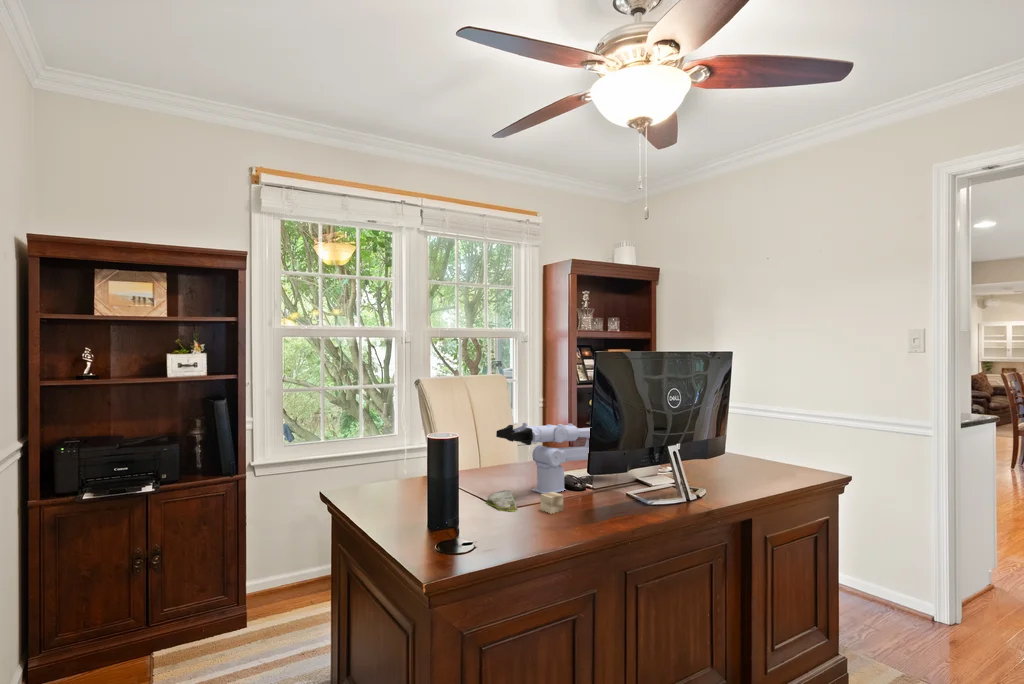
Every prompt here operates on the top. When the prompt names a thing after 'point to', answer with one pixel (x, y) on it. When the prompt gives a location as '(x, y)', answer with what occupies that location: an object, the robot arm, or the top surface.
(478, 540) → the top surface
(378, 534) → the top surface
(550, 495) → the beech block
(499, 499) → the decorative stone
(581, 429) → the robot arm
